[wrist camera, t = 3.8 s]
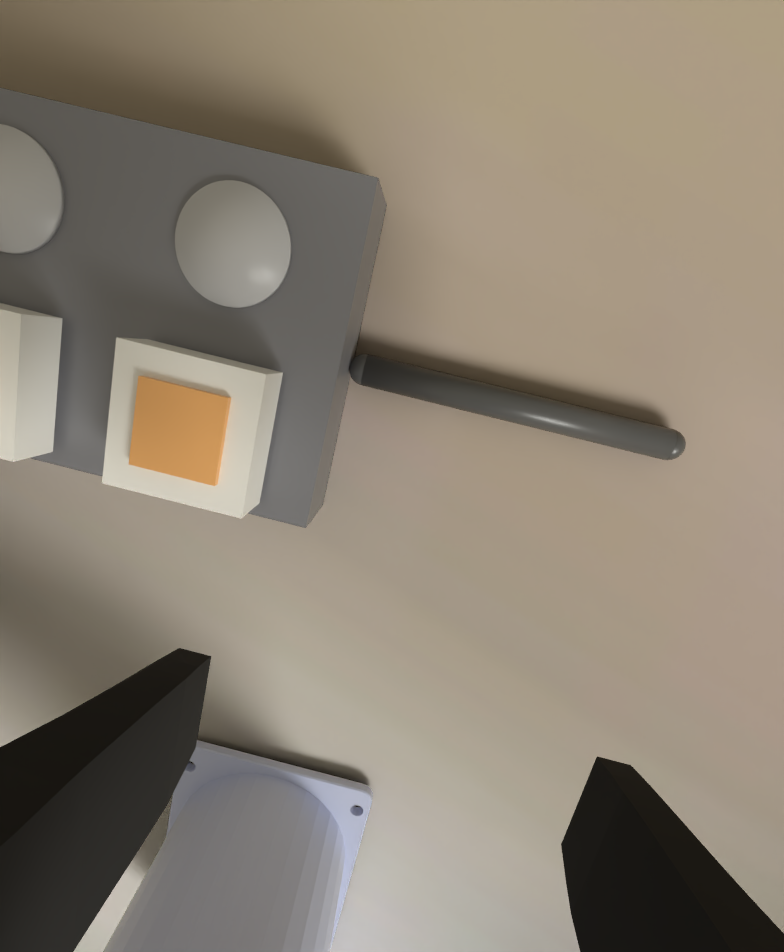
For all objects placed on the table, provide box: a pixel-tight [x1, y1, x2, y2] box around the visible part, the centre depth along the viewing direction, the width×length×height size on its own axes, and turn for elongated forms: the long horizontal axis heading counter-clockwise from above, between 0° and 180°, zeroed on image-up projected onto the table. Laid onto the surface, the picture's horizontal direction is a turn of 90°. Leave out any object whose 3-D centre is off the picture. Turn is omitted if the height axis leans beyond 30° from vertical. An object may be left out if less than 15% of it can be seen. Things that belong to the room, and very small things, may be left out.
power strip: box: [0, 88, 686, 528], centre depth 16 cm, size 10×31×3 cm, turn 77°
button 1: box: [102, 337, 283, 519], centre depth 14 cm, size 4×4×2 cm
